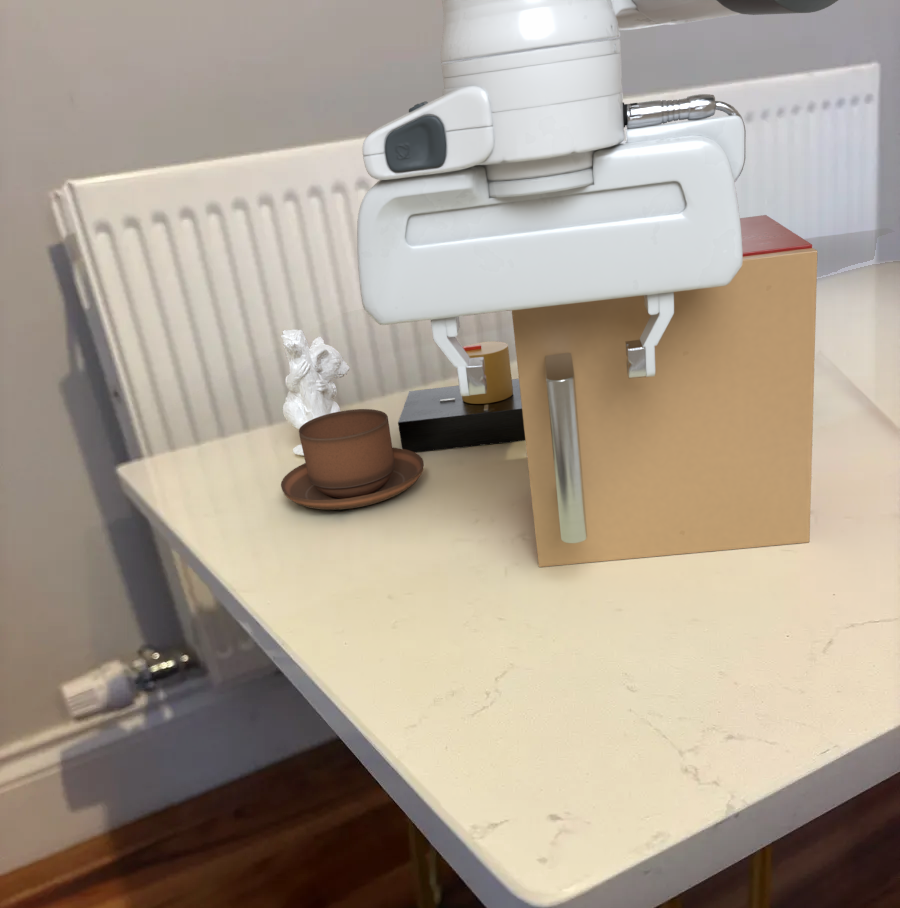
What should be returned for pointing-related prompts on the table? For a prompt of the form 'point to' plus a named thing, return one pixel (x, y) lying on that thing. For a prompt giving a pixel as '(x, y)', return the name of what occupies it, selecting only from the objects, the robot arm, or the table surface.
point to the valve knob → (492, 371)
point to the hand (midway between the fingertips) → (556, 384)
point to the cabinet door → (673, 419)
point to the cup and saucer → (350, 462)
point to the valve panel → (458, 420)
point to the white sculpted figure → (310, 379)
